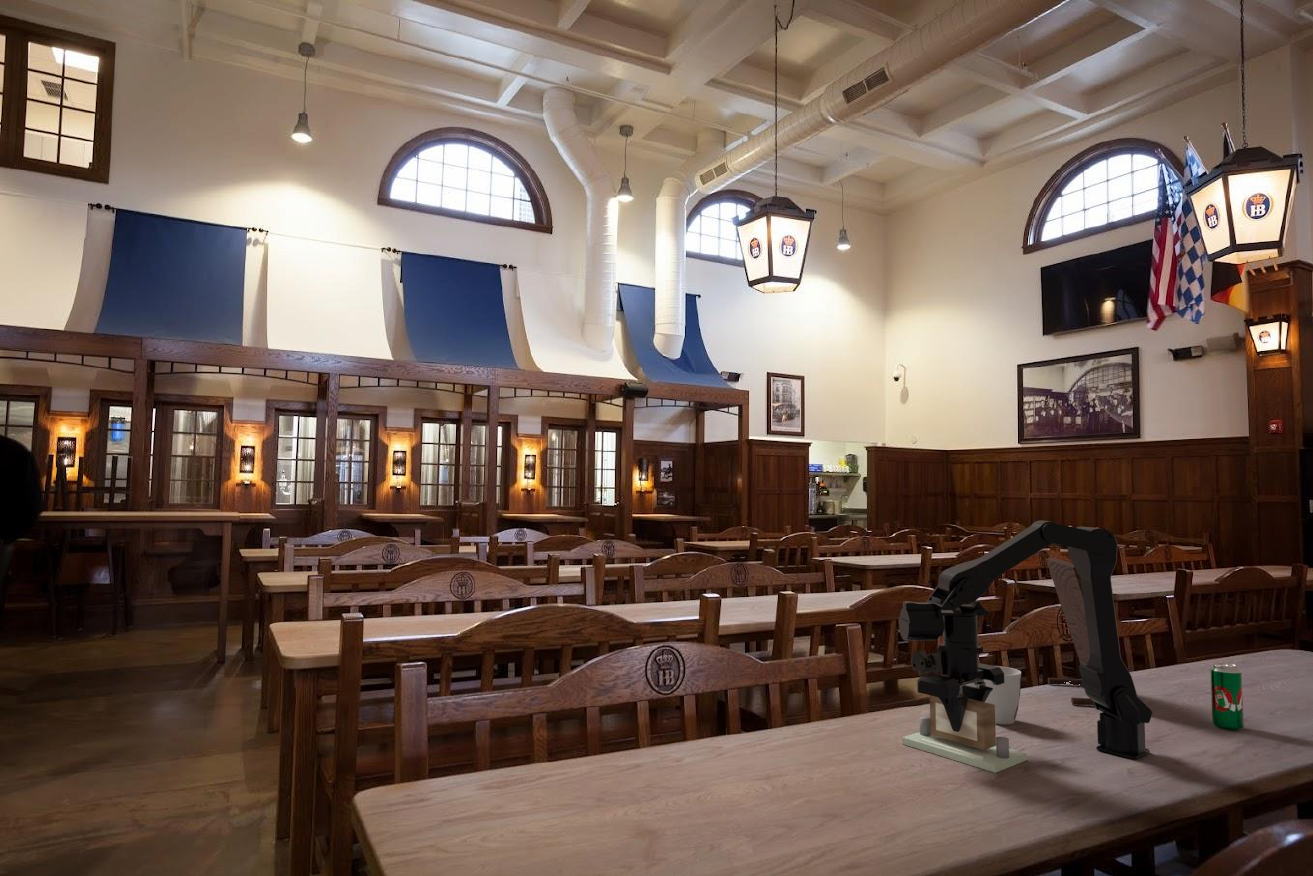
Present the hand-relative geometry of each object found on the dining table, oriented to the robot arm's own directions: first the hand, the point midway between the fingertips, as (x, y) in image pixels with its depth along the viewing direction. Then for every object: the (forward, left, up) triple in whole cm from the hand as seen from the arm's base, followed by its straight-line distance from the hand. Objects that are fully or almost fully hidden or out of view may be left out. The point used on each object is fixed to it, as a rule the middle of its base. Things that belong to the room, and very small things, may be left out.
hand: (962, 729), depth 140 cm
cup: (+6, -23, -4) cm, 24 cm away
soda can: (-23, -55, -4) cm, 60 cm away
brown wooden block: (0, 0, -2) cm, 2 cm away
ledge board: (0, 0, -4) cm, 4 cm away
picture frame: (+5, -57, -4) cm, 57 cm away
